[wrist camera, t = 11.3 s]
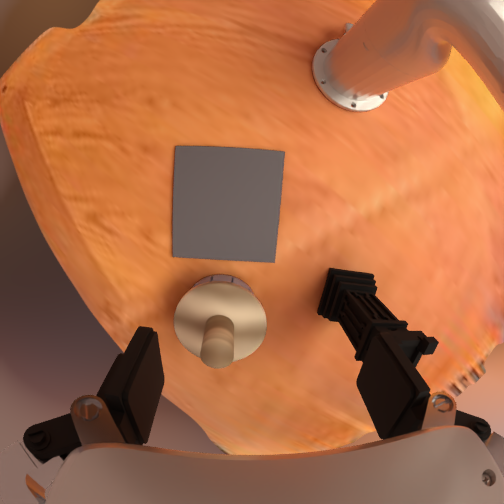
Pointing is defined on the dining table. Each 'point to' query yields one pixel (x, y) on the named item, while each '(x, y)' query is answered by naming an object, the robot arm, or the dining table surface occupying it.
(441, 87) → the dining table surface
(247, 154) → the rubber mat
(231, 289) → the lid
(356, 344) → the chess piece
